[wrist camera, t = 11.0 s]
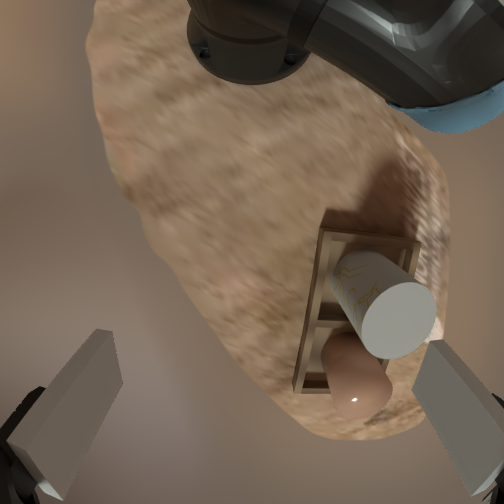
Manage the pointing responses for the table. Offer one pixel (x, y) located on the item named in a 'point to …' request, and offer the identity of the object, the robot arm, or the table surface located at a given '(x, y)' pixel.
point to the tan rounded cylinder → (354, 377)
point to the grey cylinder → (383, 303)
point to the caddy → (327, 306)
